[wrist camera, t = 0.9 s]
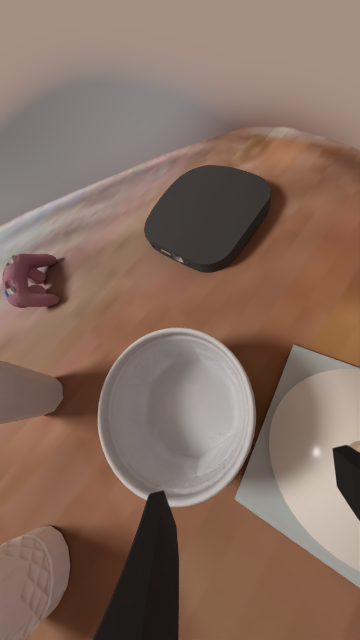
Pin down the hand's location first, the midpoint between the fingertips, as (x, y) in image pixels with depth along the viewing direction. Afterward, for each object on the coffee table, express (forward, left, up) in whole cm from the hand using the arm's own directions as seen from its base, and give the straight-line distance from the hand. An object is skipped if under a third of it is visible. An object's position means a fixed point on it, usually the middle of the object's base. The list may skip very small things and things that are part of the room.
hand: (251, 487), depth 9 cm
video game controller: (+38, -5, -13) cm, 40 cm away
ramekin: (+7, 0, -13) cm, 15 cm away
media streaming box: (+16, -23, -14) cm, 31 cm away
